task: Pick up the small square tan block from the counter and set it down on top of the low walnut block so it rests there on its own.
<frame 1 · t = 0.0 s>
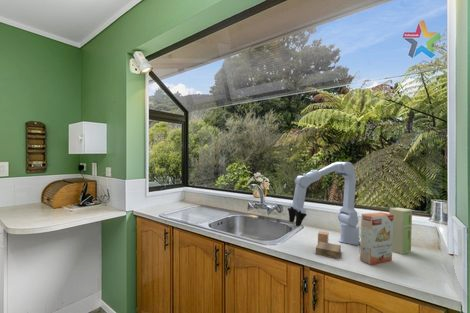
hand: (294, 223, 125), 11 cm above the worktop, tool pointing down, fingers open, 7 cm apart
toy refrigerator: (400, 251, 119), on the worktop
tan block: (323, 244, 126), on the worktop
walnut block: (328, 252, 115), on the worktop
cracker box: (376, 261, 107), on the worktop
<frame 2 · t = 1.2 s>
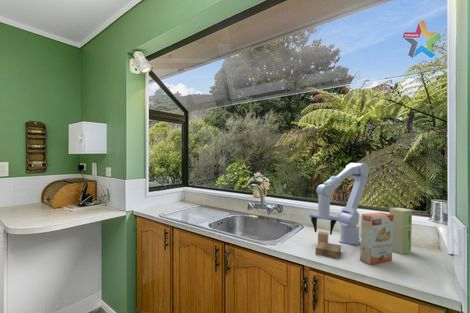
hand: (323, 233, 126), 6 cm above the worktop, tool pointing down, fingers open, 7 cm apart
nothing on the worktop moved.
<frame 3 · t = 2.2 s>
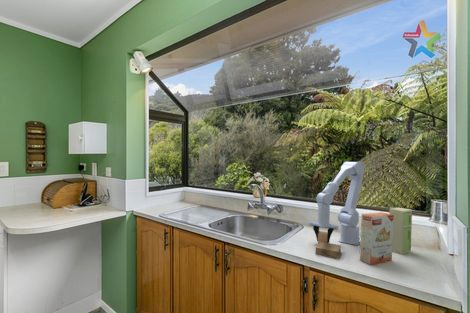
hand: (323, 241, 126), 1 cm above the worktop, tool pointing down, fingers closed on tan block, 5 cm apart
tan block: (323, 244, 126), on the worktop, touching gripper
everything else where it was.
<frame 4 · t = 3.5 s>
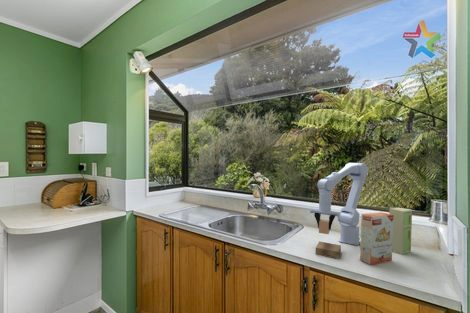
hand: (324, 228, 124), 9 cm above the worktop, tool pointing down, fingers closed on tan block, 5 cm apart
tan block: (324, 232, 124), point 7 cm above the worktop, touching gripper
everything else where it was.
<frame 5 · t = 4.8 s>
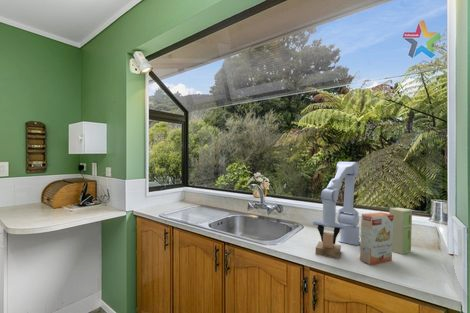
hand: (328, 242, 115), 5 cm above the worktop, tool pointing down, fingers closed on tan block, 5 cm apart
tan block: (328, 246, 115), point 3 cm above the worktop, touching gripper, walnut block
everything else where it was.
when the fingers open (5 cm above the worktop, at t = 5.2 s): tan block stays where it is, resting on walnut block.
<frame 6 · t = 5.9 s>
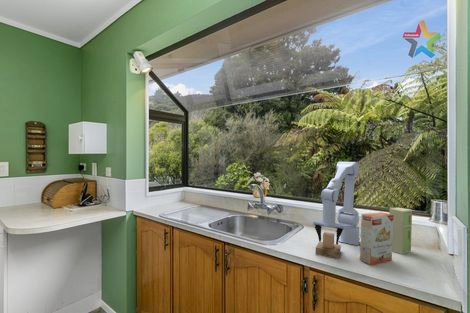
hand: (328, 242, 115), 5 cm above the worktop, tool pointing down, fingers open, 7 cm apart
tan block: (328, 246, 115), point 3 cm above the worktop, touching walnut block
everything else where it was.
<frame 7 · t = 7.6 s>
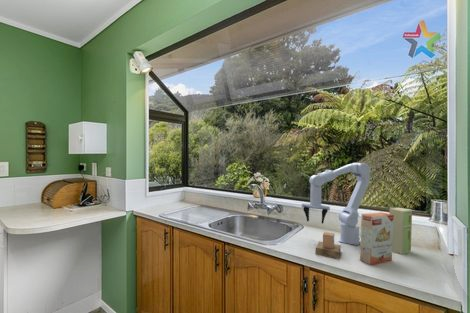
hand: (315, 222, 131), 10 cm above the worktop, tool pointing down, fingers open, 7 cm apart
nothing on the worktop moved.
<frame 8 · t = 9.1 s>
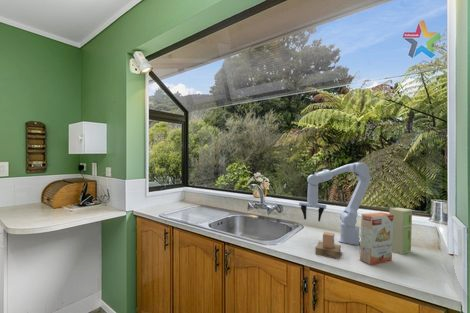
hand: (312, 220, 135), 10 cm above the worktop, tool pointing down, fingers open, 7 cm apart
nothing on the worktop moved.
at the end: tan block inside the target area on the walnut block (0.2 cm from its centre), point 3.0 cm above the walnut block's base; tan block tilted 0°; the gripper is holding nothing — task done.
